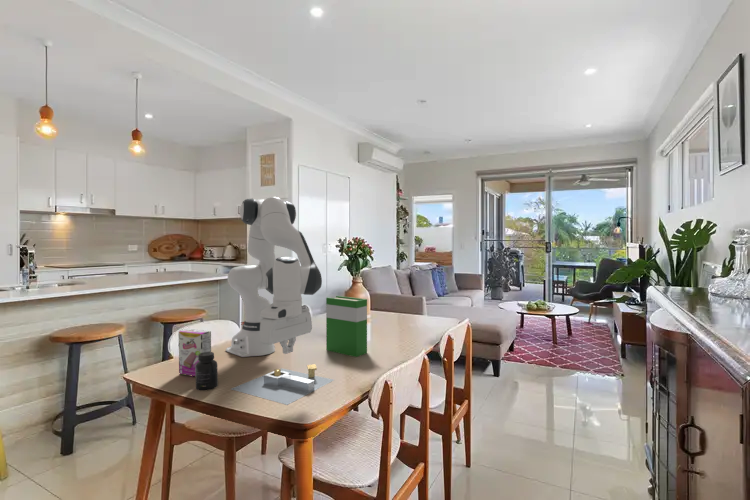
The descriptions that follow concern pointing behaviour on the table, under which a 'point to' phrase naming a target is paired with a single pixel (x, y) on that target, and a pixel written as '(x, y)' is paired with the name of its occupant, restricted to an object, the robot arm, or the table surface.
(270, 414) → the table surface
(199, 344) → the candy bar box
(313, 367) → the keeper
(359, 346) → the hardback book
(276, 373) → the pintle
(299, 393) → the board
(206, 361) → the supplement bottle
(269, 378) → the link
